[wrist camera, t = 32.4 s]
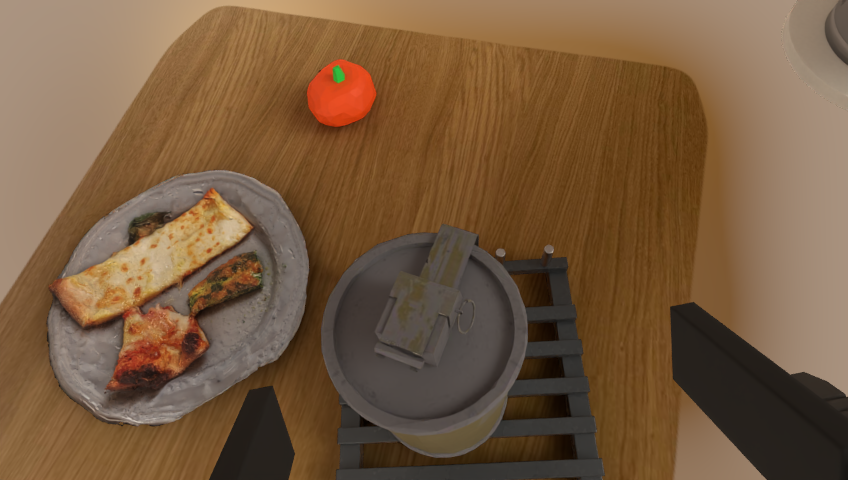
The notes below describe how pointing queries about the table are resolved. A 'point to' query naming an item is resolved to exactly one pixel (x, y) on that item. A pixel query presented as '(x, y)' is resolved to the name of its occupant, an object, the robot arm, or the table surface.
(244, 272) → the food plate
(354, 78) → the pumpkin
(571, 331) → the dish rack
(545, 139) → the table surface
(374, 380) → the canister
